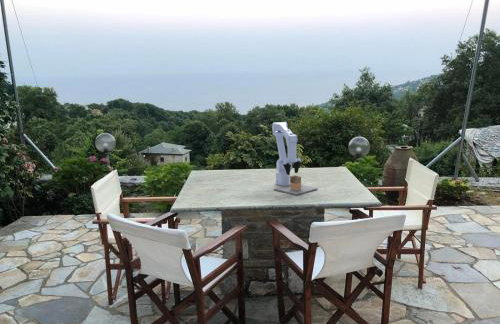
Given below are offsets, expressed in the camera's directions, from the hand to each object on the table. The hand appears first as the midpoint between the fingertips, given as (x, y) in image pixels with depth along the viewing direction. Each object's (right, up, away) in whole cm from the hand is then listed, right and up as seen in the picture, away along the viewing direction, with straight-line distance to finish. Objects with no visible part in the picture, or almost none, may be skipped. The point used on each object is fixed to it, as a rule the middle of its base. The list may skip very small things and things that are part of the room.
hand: (292, 173), depth 257 cm
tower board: (+2, -11, 0) cm, 11 cm away
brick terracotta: (+2, -10, -1) cm, 10 cm away
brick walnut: (+2, -6, -1) cm, 6 cm away
